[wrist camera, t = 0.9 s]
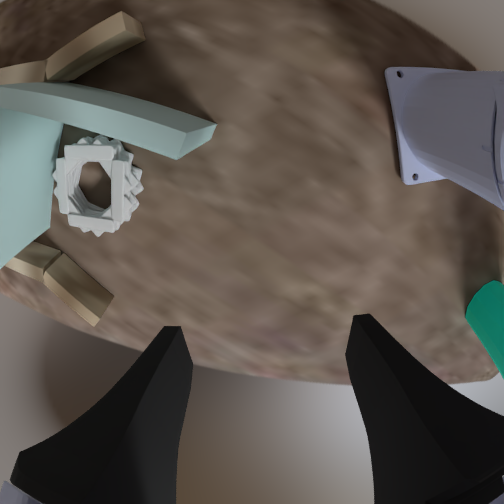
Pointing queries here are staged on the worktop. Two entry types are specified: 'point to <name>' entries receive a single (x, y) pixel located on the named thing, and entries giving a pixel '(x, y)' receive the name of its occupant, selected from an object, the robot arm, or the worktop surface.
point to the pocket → (62, 70)
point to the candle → (489, 320)
